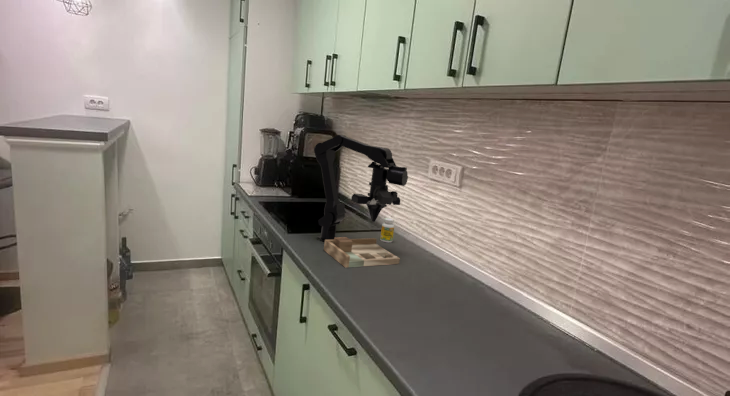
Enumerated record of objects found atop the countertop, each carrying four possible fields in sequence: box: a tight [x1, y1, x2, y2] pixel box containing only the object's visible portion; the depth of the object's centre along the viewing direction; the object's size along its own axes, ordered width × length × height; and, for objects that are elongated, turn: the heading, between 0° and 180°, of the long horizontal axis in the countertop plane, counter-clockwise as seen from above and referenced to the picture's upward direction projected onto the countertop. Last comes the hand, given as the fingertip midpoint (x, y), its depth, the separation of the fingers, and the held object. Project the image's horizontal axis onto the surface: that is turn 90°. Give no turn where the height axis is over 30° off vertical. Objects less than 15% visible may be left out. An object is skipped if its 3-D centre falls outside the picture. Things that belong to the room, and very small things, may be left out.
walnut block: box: [334, 236, 353, 252], centre depth 147 cm, size 5×5×4 cm
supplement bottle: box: [379, 217, 395, 243], centre depth 173 cm, size 5×5×10 cm
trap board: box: [323, 237, 401, 269], centre depth 148 cm, size 18×22×4 cm
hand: (373, 221), depth 154 cm, fingers closed
